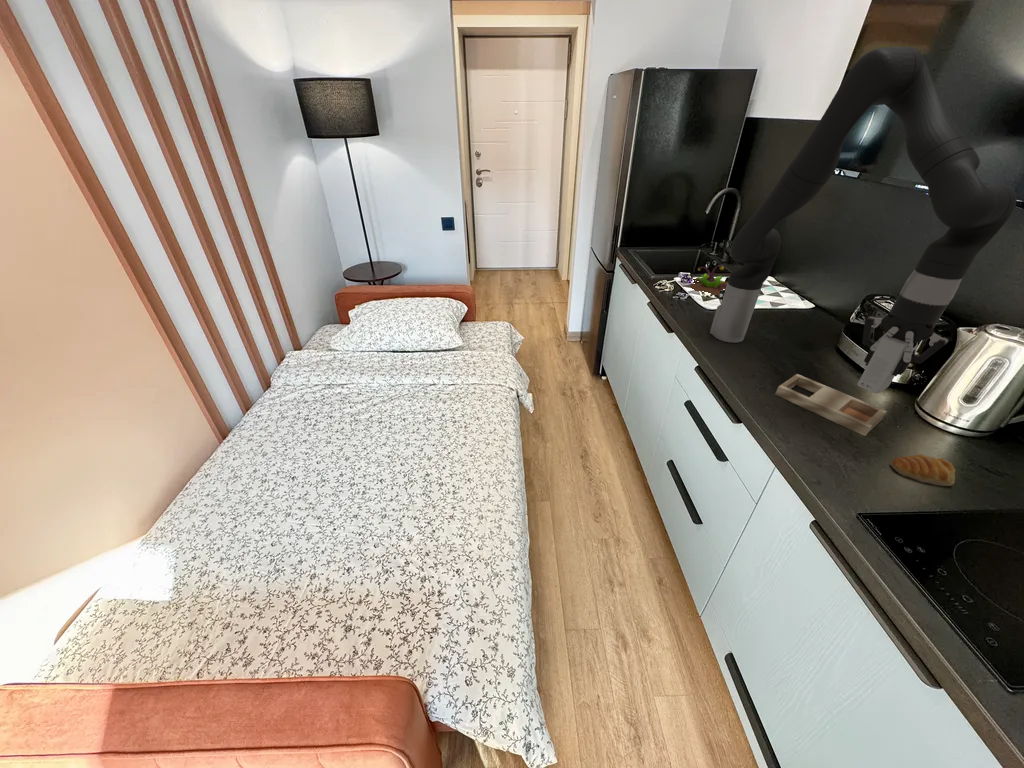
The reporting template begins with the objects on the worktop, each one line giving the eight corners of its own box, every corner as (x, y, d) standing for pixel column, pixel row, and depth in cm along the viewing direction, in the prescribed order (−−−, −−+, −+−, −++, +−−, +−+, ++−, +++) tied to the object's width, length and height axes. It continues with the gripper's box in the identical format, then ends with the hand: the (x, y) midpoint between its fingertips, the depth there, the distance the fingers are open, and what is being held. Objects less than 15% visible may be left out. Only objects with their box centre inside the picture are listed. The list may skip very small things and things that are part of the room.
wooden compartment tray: (775, 394, 108) (778, 386, 106) (793, 381, 113) (797, 373, 111) (864, 436, 94) (870, 427, 93) (881, 419, 99) (886, 411, 98)
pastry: (899, 481, 83) (909, 468, 81) (882, 458, 89) (891, 445, 87) (954, 489, 82) (965, 475, 80) (933, 465, 87) (943, 451, 85)
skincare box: (877, 395, 91) (907, 346, 84) (854, 385, 94) (881, 337, 87) (889, 386, 94) (919, 338, 87) (866, 377, 97) (893, 330, 90)
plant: (730, 306, 154) (739, 277, 148) (676, 295, 163) (682, 267, 157) (738, 289, 168) (747, 261, 162) (688, 280, 177) (694, 253, 171)
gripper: (874, 289, 85) (838, 361, 95) (967, 313, 76) (916, 390, 85) (888, 281, 89) (851, 351, 98) (978, 303, 79) (928, 378, 89)
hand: (882, 369), depth 92 cm, fingers closed on skincare box, 4 cm apart
